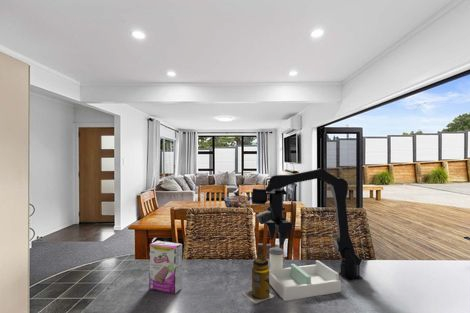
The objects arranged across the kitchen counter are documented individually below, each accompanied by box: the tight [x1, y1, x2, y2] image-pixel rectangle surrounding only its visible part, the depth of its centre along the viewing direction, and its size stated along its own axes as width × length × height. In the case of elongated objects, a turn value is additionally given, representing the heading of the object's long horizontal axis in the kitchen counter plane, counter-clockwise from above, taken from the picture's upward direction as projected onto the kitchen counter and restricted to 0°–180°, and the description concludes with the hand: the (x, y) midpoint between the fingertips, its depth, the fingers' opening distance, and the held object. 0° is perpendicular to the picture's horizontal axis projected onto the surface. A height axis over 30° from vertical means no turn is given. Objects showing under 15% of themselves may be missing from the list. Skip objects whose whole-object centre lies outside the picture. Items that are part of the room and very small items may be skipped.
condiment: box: [242, 257, 275, 304], centre depth 88 cm, size 7×8×12 cm
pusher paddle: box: [290, 263, 311, 285], centre depth 94 cm, size 3×12×5 cm, turn 15°
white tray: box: [269, 260, 342, 302], centre depth 94 cm, size 22×15×6 cm
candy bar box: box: [148, 240, 183, 295], centre depth 92 cm, size 11×5×16 cm, turn 71°
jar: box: [268, 246, 284, 270], centre depth 107 cm, size 6×6×9 cm
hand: (276, 241), depth 107 cm, fingers open, 9 cm apart
